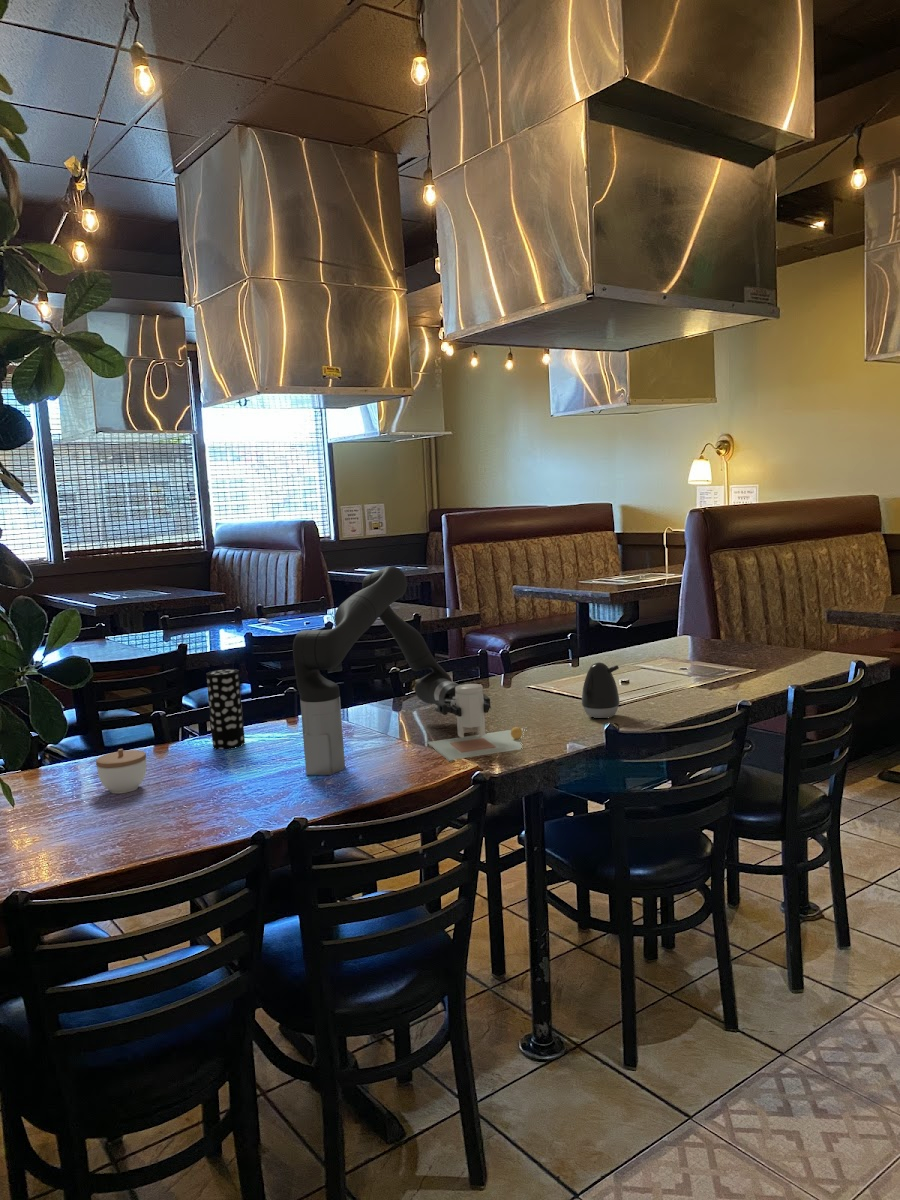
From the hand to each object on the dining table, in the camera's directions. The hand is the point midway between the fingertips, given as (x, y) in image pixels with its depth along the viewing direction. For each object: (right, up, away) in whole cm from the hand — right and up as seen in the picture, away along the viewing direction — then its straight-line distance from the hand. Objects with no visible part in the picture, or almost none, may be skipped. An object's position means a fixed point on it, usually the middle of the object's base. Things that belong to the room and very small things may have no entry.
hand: (473, 710), depth 214 cm
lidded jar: (-81, -16, -14) cm, 83 cm away
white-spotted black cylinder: (-65, -12, +19) cm, 69 cm away
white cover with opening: (0, -6, +3) cm, 7 cm away
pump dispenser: (+36, -5, +26) cm, 44 cm away
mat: (+6, -9, +5) cm, 12 cm away
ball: (+11, -6, +7) cm, 14 cm away
